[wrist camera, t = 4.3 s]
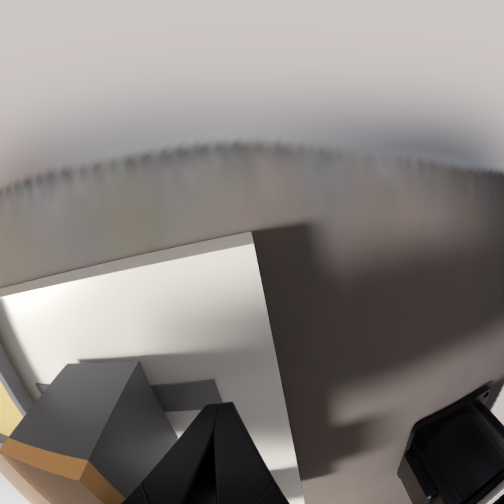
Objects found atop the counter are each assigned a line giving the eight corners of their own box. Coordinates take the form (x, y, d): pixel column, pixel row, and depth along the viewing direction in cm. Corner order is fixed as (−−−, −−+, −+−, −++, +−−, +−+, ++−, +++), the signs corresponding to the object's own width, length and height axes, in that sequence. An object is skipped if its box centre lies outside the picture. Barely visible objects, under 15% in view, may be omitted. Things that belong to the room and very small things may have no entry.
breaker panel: (251, 231, 9) (255, 253, 6) (300, 480, 13) (308, 520, 9) (-52, 302, 9) (-80, 319, 6) (47, 467, 13) (34, 491, 10)
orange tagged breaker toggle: (138, 360, 8) (78, 480, 3) (177, 436, 8) (157, 542, 4) (67, 363, 8) (-2, 450, 3) (110, 434, 8) (74, 521, 4)
